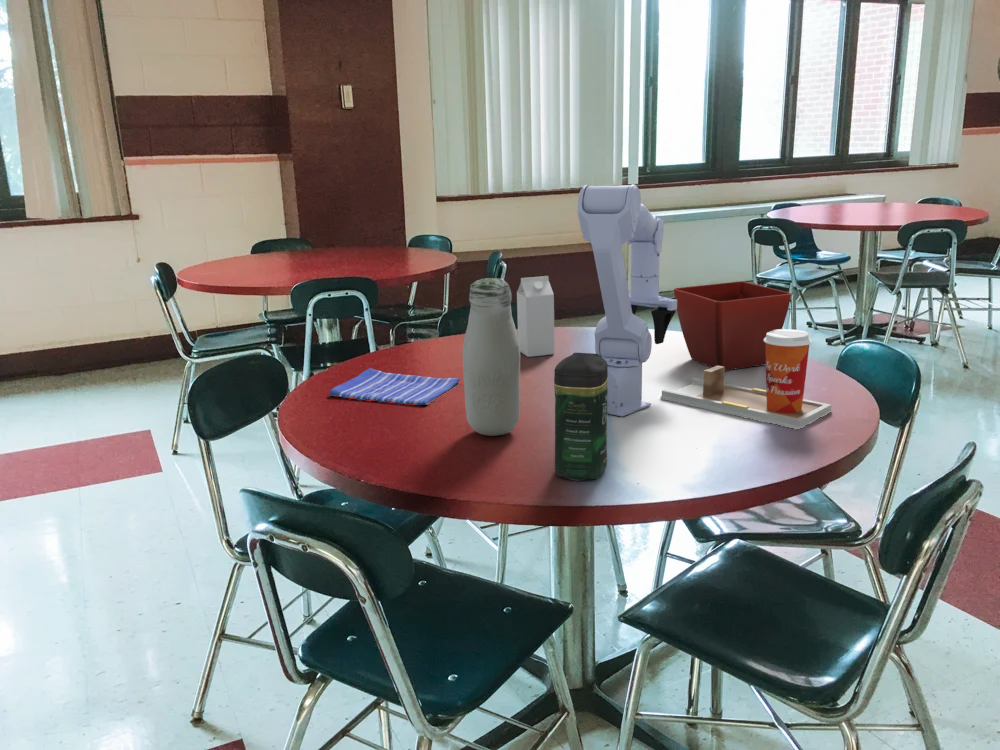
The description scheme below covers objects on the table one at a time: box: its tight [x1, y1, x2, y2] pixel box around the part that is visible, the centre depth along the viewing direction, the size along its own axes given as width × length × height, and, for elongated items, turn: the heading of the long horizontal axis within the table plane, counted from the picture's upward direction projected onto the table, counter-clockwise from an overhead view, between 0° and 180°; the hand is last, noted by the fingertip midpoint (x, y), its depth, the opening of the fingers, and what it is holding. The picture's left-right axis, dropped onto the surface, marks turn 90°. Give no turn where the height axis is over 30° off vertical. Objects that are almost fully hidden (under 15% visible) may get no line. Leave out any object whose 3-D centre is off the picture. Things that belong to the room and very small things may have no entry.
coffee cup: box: [764, 328, 813, 413], centre depth 148 cm, size 8×8×15 cm
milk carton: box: [516, 275, 556, 358], centre depth 199 cm, size 7×7×19 cm
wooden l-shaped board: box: [697, 366, 819, 418], centre depth 154 cm, size 9×21×6 cm, turn 44°
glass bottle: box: [461, 277, 521, 437], centre depth 142 cm, size 10×10×28 cm
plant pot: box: [673, 281, 792, 371], centre depth 185 cm, size 19×19×17 cm
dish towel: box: [328, 367, 461, 406], centre depth 174 cm, size 17×24×3 cm
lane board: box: [660, 377, 833, 430], centre depth 156 cm, size 13×29×2 cm, turn 44°
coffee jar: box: [553, 352, 608, 482], centre depth 125 cm, size 10×8×19 cm
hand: (643, 340), depth 168 cm, fingers open, 7 cm apart
